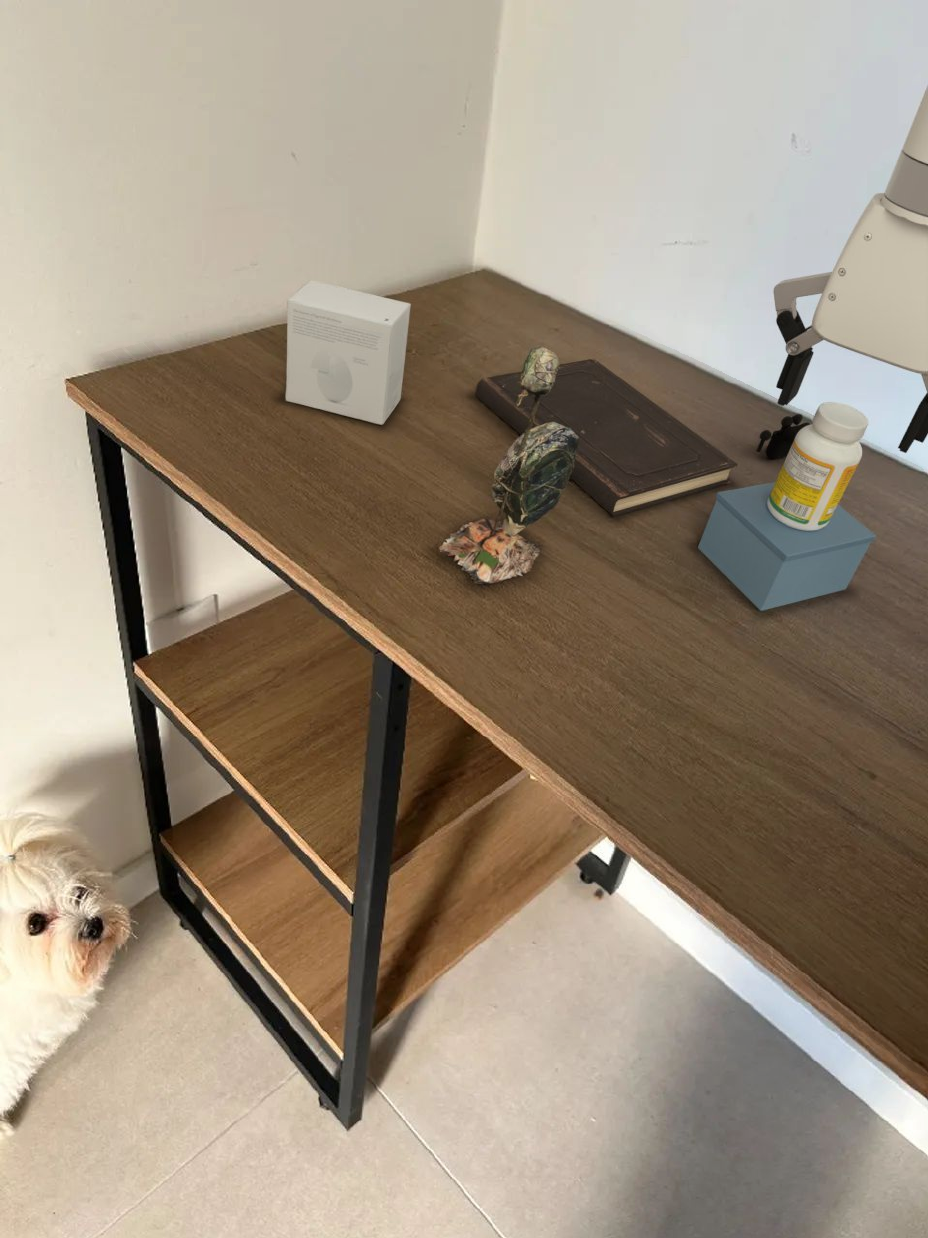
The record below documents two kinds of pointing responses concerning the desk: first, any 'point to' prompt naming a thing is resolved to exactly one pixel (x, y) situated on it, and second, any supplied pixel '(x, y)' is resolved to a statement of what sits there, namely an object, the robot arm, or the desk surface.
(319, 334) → the cosmetics box
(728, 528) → the blue box
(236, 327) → the desk surface
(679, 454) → the hardcover book
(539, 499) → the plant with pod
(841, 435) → the supplement bottle
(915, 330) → the robot arm
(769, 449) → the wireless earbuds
